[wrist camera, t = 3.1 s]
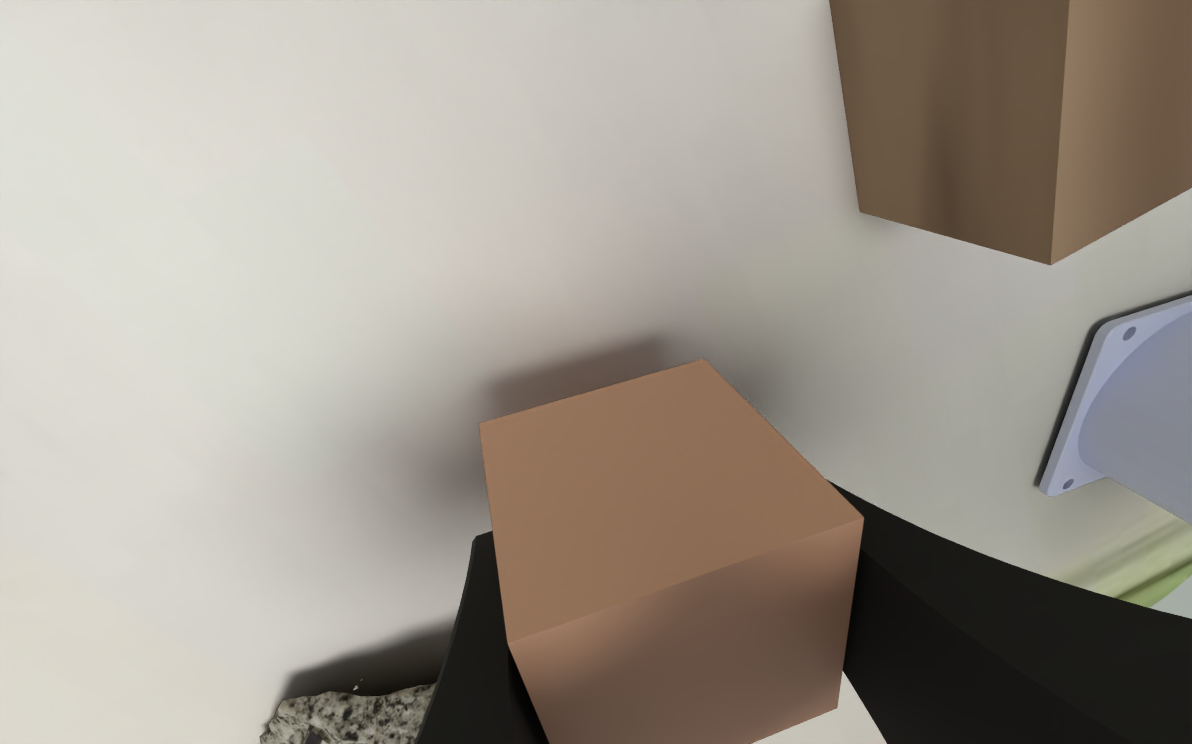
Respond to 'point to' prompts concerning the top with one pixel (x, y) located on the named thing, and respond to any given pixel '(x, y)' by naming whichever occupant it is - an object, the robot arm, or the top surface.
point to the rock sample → (350, 718)
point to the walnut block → (1017, 115)
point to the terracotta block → (668, 564)
